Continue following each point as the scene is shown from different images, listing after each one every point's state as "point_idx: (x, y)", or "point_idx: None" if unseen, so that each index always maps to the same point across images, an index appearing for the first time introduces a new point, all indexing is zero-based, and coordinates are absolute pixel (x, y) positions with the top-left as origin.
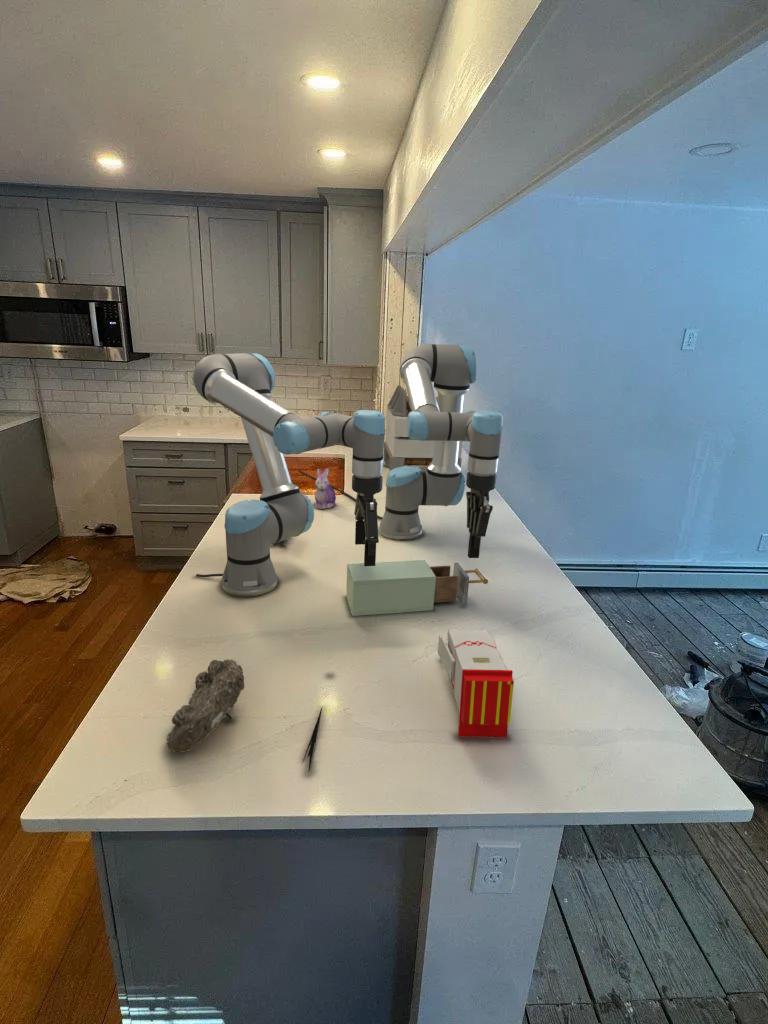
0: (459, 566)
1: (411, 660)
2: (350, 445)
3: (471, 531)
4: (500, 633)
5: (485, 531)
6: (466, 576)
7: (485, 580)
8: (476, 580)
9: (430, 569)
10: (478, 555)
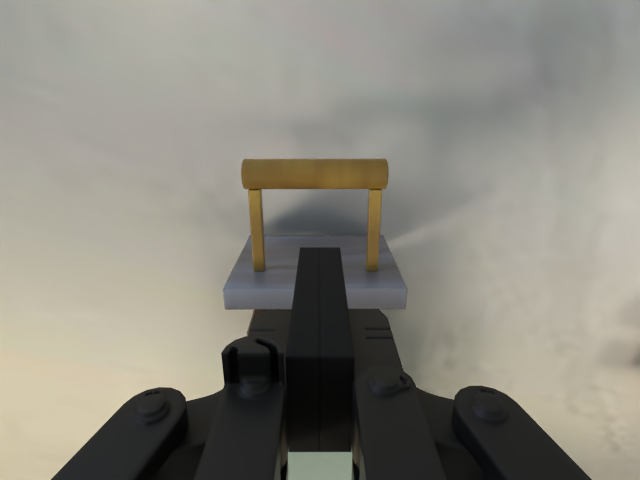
0: (276, 297)
1: (611, 453)
2: None
3: (286, 462)
4: (590, 174)
5: (569, 471)
6: (400, 301)
7: (387, 177)
8: (374, 222)
9: (333, 455)
10: (340, 258)
